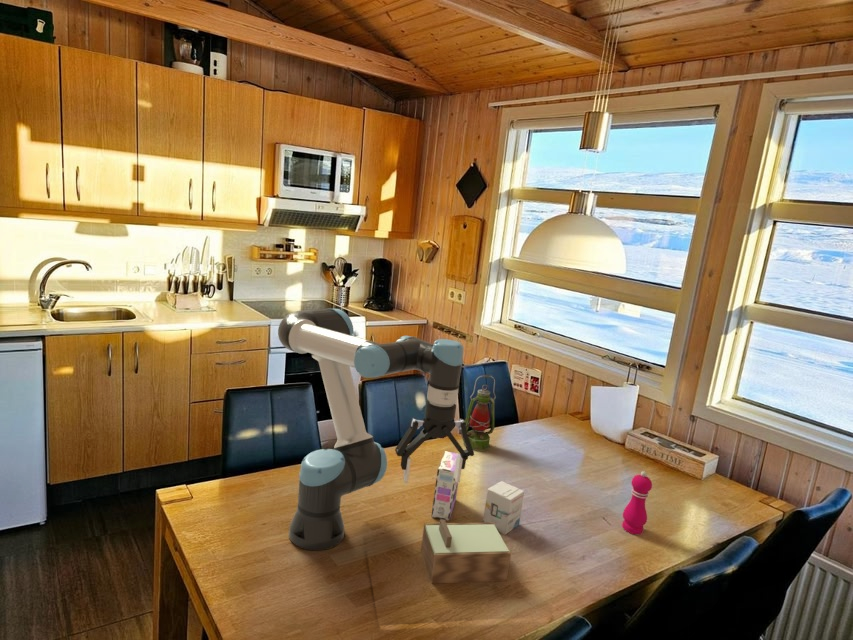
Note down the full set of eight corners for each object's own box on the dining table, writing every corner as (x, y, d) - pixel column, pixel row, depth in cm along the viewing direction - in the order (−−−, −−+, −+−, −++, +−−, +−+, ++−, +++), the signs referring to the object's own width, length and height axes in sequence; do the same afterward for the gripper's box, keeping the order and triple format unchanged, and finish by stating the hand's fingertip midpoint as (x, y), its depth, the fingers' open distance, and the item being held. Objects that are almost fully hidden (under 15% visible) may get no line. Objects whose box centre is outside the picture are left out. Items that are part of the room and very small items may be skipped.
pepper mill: (629, 536, 175) (641, 477, 171) (615, 523, 182) (627, 466, 178) (648, 535, 177) (661, 477, 173) (635, 522, 184) (646, 465, 180)
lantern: (465, 451, 222) (475, 379, 216) (455, 440, 232) (465, 370, 226) (497, 450, 226) (508, 379, 220) (486, 439, 236) (496, 371, 230)
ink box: (496, 513, 180) (501, 479, 177) (519, 524, 174) (525, 490, 172) (481, 522, 173) (486, 488, 171) (505, 535, 168) (510, 499, 165)
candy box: (449, 521, 171) (456, 472, 168) (430, 517, 172) (437, 468, 169) (456, 499, 185) (462, 453, 181) (438, 496, 186) (444, 449, 182)
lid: (435, 556, 141) (436, 542, 140) (425, 528, 153) (426, 515, 152) (508, 554, 145) (510, 540, 145) (493, 527, 157) (495, 514, 156)
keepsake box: (431, 585, 142) (435, 555, 140) (420, 551, 155) (424, 523, 153) (506, 583, 146) (511, 553, 144) (489, 550, 159) (493, 522, 158)
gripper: (395, 406, 133) (386, 488, 137) (493, 408, 139) (481, 486, 144) (389, 395, 140) (380, 473, 144) (483, 397, 147) (472, 472, 151)
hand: (431, 480), depth 144 cm, fingers open, 13 cm apart
